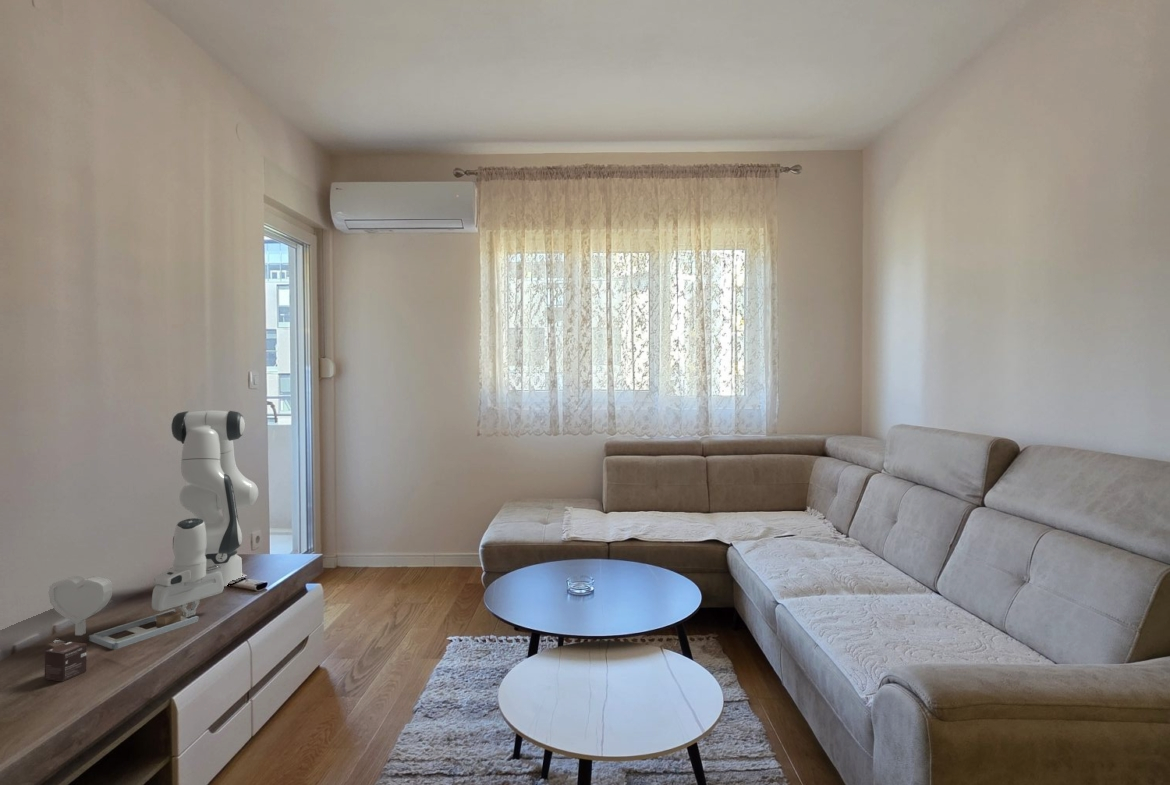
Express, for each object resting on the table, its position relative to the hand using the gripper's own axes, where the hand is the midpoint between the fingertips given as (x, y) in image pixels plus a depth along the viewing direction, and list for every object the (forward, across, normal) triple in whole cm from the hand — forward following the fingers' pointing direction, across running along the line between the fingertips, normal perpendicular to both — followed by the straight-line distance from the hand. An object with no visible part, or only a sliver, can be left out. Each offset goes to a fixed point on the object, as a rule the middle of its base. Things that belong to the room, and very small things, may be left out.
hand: (189, 615), depth 187 cm
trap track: (+3, +10, -3) cm, 11 cm away
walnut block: (+1, +6, 0) cm, 6 cm away
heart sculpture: (+3, +21, -16) cm, 27 cm away
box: (+3, +34, +6) cm, 35 cm away
